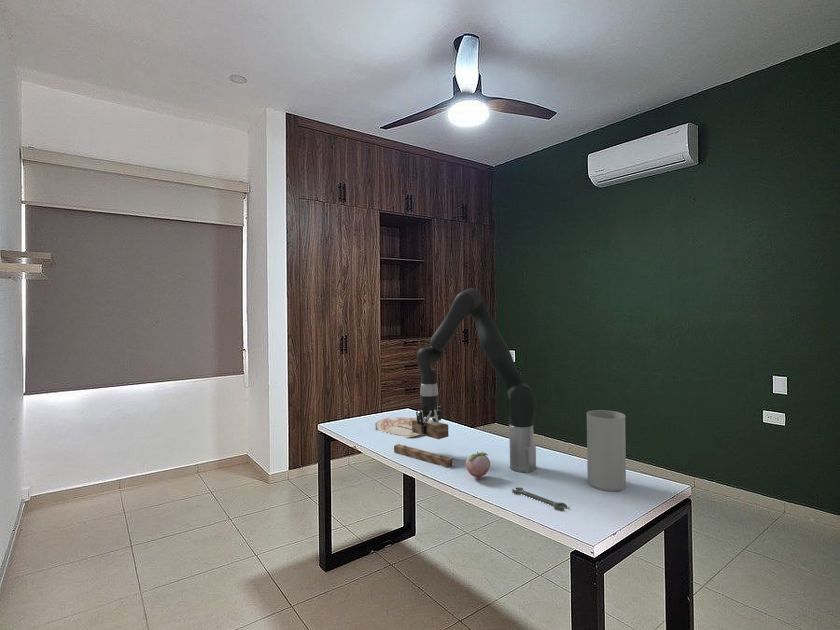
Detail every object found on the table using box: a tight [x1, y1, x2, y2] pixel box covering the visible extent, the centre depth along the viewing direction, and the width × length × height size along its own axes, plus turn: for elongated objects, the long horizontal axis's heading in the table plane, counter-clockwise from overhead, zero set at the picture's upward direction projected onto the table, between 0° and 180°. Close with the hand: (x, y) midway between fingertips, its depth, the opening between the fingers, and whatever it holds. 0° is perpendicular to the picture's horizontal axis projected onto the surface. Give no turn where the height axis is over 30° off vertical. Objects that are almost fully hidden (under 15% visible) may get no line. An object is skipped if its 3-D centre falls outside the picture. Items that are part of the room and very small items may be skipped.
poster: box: [375, 416, 433, 439], centre depth 237 cm, size 28×6×30 cm
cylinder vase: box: [586, 409, 627, 492], centre depth 158 cm, size 12×12×25 cm
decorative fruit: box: [465, 451, 491, 479], centre depth 167 cm, size 9×8×10 cm
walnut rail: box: [393, 443, 454, 469], centre depth 189 cm, size 30×3×4 cm, turn 49°
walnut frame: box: [412, 419, 449, 440], centre depth 193 cm, size 16×6×5 cm, turn 44°
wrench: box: [511, 486, 568, 512], centre depth 148 cm, size 5×20×1 cm, turn 40°
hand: (429, 432), depth 193 cm, fingers closed on walnut frame, 6 cm apart
